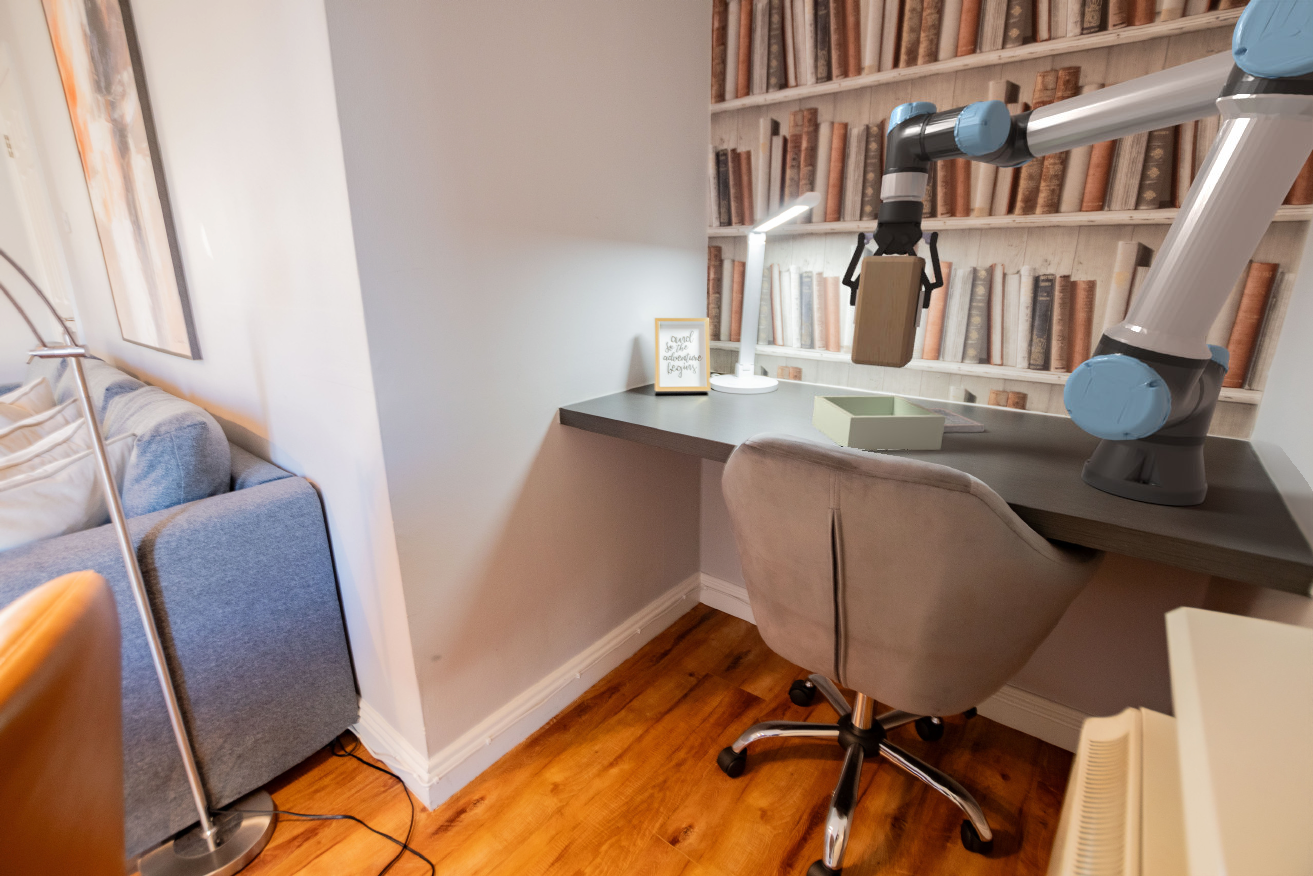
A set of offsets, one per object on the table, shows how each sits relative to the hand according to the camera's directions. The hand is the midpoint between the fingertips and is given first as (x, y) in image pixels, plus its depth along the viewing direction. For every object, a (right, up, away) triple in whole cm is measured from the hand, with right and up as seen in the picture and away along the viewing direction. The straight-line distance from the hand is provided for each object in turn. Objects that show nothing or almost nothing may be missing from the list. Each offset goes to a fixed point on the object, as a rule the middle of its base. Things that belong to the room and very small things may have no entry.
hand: (886, 325), depth 110 cm
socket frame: (+17, -18, +18) cm, 30 cm away
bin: (0, -22, +6) cm, 22 cm away
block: (0, -7, +2) cm, 8 cm away
